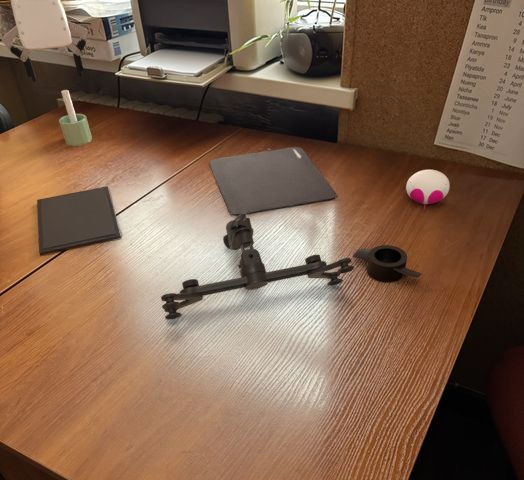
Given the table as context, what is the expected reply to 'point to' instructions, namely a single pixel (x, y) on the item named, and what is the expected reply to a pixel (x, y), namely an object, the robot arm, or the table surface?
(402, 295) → the table surface
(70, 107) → the stylus
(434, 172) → the stress ball
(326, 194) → the mouse pad
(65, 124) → the pen cup
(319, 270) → the tablet mount
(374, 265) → the black winged ring
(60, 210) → the tablet
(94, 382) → the table surface
